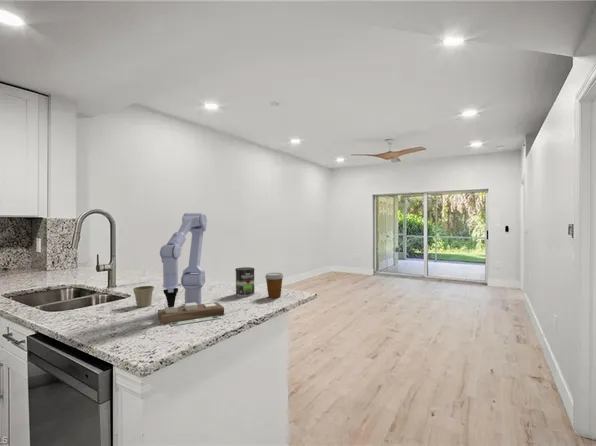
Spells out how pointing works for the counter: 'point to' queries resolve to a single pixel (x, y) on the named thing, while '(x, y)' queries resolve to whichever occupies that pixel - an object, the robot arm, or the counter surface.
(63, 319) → the counter surface
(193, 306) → the button middle
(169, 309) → the cream square block
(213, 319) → the pattern card
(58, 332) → the counter surface
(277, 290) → the disposable coffee cup
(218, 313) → the brown flat rectangular frame
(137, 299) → the flower pot
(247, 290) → the coffee can
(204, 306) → the white square block
